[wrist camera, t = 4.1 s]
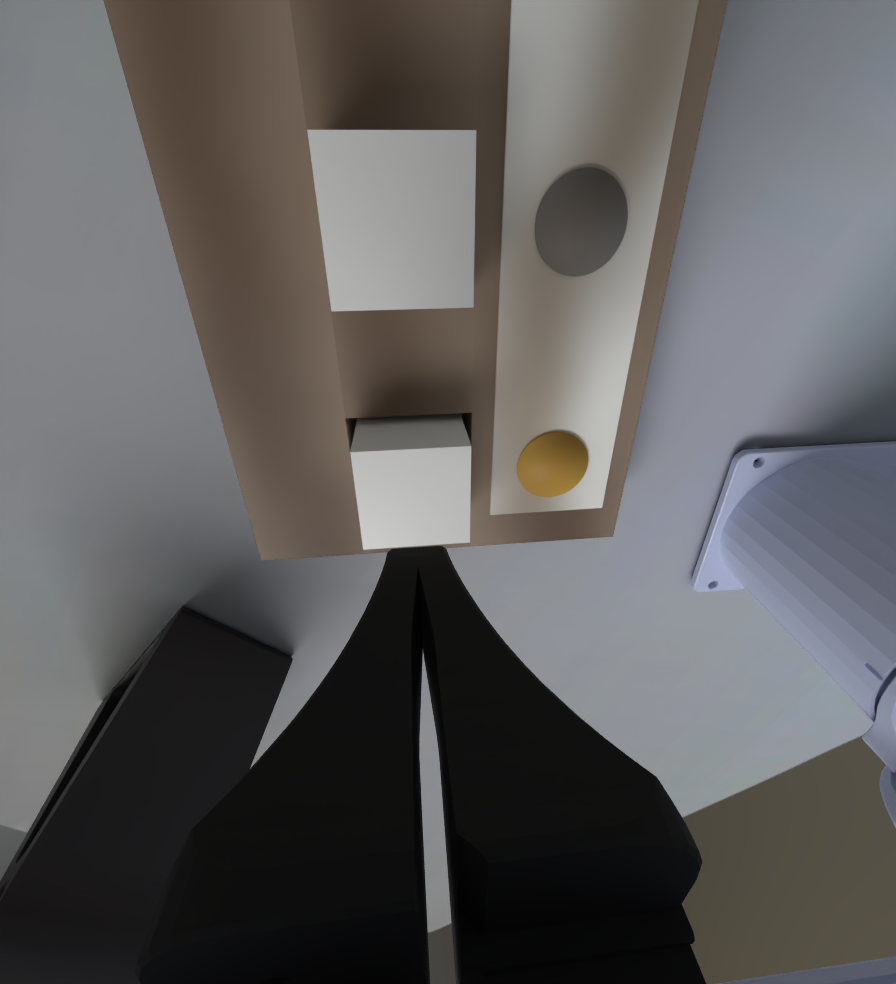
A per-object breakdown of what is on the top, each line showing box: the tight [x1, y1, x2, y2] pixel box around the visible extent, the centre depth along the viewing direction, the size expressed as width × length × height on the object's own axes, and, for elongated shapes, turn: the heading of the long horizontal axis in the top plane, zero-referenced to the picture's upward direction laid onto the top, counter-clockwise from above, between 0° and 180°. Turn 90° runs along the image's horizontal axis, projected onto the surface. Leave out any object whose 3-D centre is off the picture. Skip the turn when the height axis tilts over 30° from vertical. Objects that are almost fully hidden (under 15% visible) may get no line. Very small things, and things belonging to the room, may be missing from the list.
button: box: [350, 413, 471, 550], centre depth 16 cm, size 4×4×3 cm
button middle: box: [307, 130, 476, 311], centre depth 12 cm, size 4×4×3 cm
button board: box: [104, 0, 727, 561], centre depth 13 cm, size 14×22×3 cm, turn 1°
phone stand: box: [0, 607, 292, 984], centre depth 19 cm, size 9×6×12 cm, turn 137°
